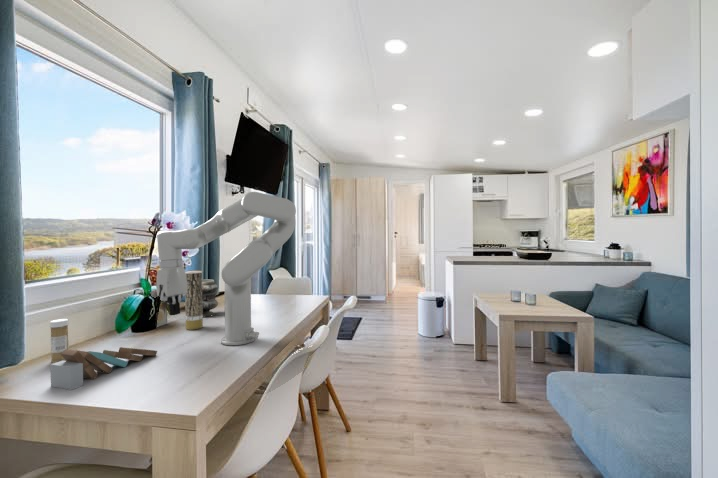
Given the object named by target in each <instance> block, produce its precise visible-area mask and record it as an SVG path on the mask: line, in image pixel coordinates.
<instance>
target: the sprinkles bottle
mask: <svg viewBox="0 0 718 478" xmlns="http://www.w3.org/2000/svg"><path fill="white" fill-rule="evenodd" d="M68 326H69V319H68V318H59V319H53V320H50V321H49V327H50V352H51V353H50V354H51V360H50V362H51V364H53V363H56V362H59V361H66V360H65V359H64V358H63V356H62V355H61V354H60V353H61V352H63V351H64V350H65V349H69V350H70V348H69V346H70V345H69V329H68Z"/></svg>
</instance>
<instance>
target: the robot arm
mask: <svg viewBox="0 0 718 478" xmlns="http://www.w3.org/2000/svg"><path fill="white" fill-rule="evenodd" d="M296 213H297V209H296V205H295V204H294V202H293V201H291V200H289V199H288V198H285V197H281V196H280V197H279V196H275V195H271V194H267V193H262V192H259V191H250V192H247V193H246V194H244V195H243V197H242V198H241V199H238V200H237V201H235V202H233V203H232V204H230V205H228V206H226V207H223V208H222V209H221V210H219V211H217V213H216V214H215V215H214V216H213V217H212V218H210V219H209V220H207V221H206V222H205V223H204V222H203V223H202V224H200V225H198V226H197V227H195V228H187V229H186V228H185V229H182V230H162V231H159V232H158V233H157V234H156V240H157V241H156V242H157V251H158V265H159V269H158V270H157V272H156V290H157V296H159V297H160V300H161V301H166V302H167V305H168V306H169V314H170V315H175V316H177V315H179V314H180V315H181V305H180V303H181V302H182V299H183V297H185V295H186V291H187V278H186V273H185V272H186V269H185V267H184V265H183V264H184V260H183V251H182V250H195V249H200V248H202V247H203V246H205V245H207V244H210V243H211V242H213V241H214V240H216V239H218V238H220V237H221V236H223V235H225V234H227V233H230V232H231V231H233V230H235V229H236V228H238V227H240V226H242V225H243V224H245V223H248V222H249V221H251V220H252V219H255V218H256V217H258V216H259V217H263V218H267V219H270V220H271V219H272V220H274V221H273V223H272V225H270V226H269V227H268V228H267V229H266V230H265V231H264V232H263V233H262V234H261V235H259V236H258V237H257V238H256V239H254V240H252V241H250V242H249V243H248V244H247V245H246V246H244V248H242V249H241V250H240V251H239V252H238V253H237V254H236V255H234V256H233V257H232V258H231V259H230V260H229V261H227V262H226V263H225V264H224V265H223V267H222V269H221V278H222V281H223V282H224V335H225V336H223V337H222V338H221V339H220V343H221V345H224V346H240V345H246V344H250V343H252V342H254V341H255V340H256V339H258V338H259V336H260V332H259V331H255V328H254V327H252V303H251V302H252V294H251V293H252V291H251V290H252V289H251V288H252V286H251V285H252V284H251V283H252V282H251V280H252V277H253V276H254V275H255V274H257V273H258V272H259V271H260V270H261V269H262V268H264V266H265V265H267V263H268V262H270V260H271V258H272V257H273V255H274V254H275V253H276V252H277V251H278V250H280V248H281V247H282V246H283V245H285V243H286V242H288V240H289V239H290V238H291V237H292V234H293V233H294V231H295V228H296V216H295V215H296Z"/></svg>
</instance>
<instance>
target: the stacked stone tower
mask: <svg viewBox="0 0 718 478" xmlns="http://www.w3.org/2000/svg"><path fill="white" fill-rule="evenodd" d="M218 288H219V287H218V285H217V284H216V282H215V280H214V279H202V308H203V318H206V317H205V316H210V317H212V316H211V315H214V314H215V315H216V314H217V313H216V312H214V311H211V310H214V309H215V308H217V307H218V304H219V302H218V301H217V299H216V291H217V290H218ZM215 315H214V316H215Z"/></svg>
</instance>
